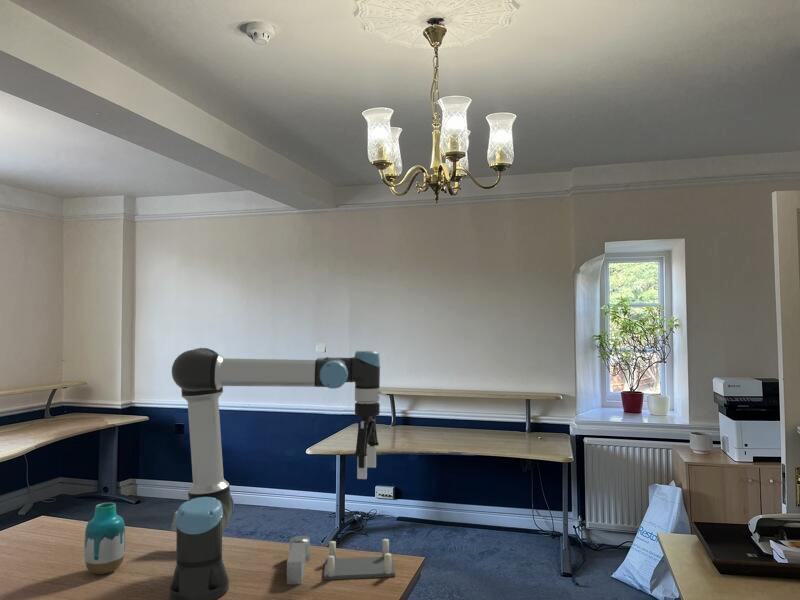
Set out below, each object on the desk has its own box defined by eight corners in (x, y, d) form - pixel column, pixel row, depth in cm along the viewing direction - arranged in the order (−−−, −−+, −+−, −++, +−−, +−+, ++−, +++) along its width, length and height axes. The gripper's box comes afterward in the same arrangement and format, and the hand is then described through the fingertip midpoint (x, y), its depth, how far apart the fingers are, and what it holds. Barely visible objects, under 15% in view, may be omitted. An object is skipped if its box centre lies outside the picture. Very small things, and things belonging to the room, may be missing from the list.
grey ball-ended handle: (305, 583, 160) (305, 561, 160) (283, 584, 160) (283, 562, 160) (310, 554, 180) (310, 535, 180) (290, 555, 180) (290, 536, 180)
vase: (132, 566, 173) (133, 500, 174) (106, 581, 163) (106, 512, 164) (103, 562, 176) (104, 498, 177) (75, 577, 166) (76, 509, 166)
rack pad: (323, 580, 162) (323, 558, 162) (325, 561, 175) (325, 541, 175) (395, 577, 164) (395, 555, 164) (392, 558, 177) (391, 538, 177)
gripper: (371, 408, 163) (370, 484, 162) (386, 397, 188) (386, 463, 187) (345, 407, 164) (344, 483, 163) (364, 396, 189) (363, 462, 188)
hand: (366, 472), depth 175 cm, fingers open, 13 cm apart
